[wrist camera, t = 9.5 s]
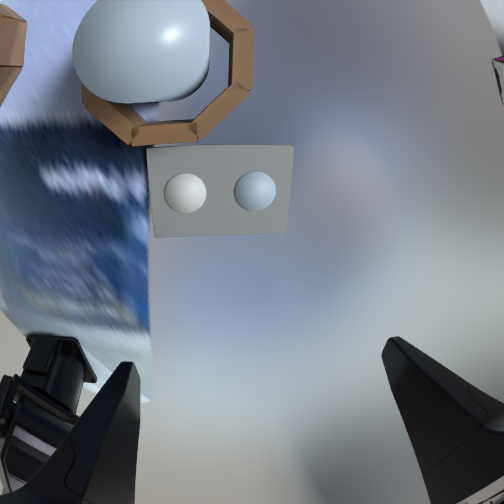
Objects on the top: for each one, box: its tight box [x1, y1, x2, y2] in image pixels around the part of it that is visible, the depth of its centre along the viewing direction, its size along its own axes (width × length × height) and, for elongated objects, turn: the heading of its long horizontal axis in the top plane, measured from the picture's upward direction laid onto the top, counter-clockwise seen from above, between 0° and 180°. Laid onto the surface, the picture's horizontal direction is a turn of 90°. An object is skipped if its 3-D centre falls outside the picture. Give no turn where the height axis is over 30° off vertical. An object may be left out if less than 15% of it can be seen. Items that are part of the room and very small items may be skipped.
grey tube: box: [73, 0, 210, 103], centre depth 10 cm, size 4×4×9 cm
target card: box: [146, 144, 294, 238], centre depth 18 cm, size 6×9×1 cm, turn 88°
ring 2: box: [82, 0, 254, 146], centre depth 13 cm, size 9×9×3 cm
